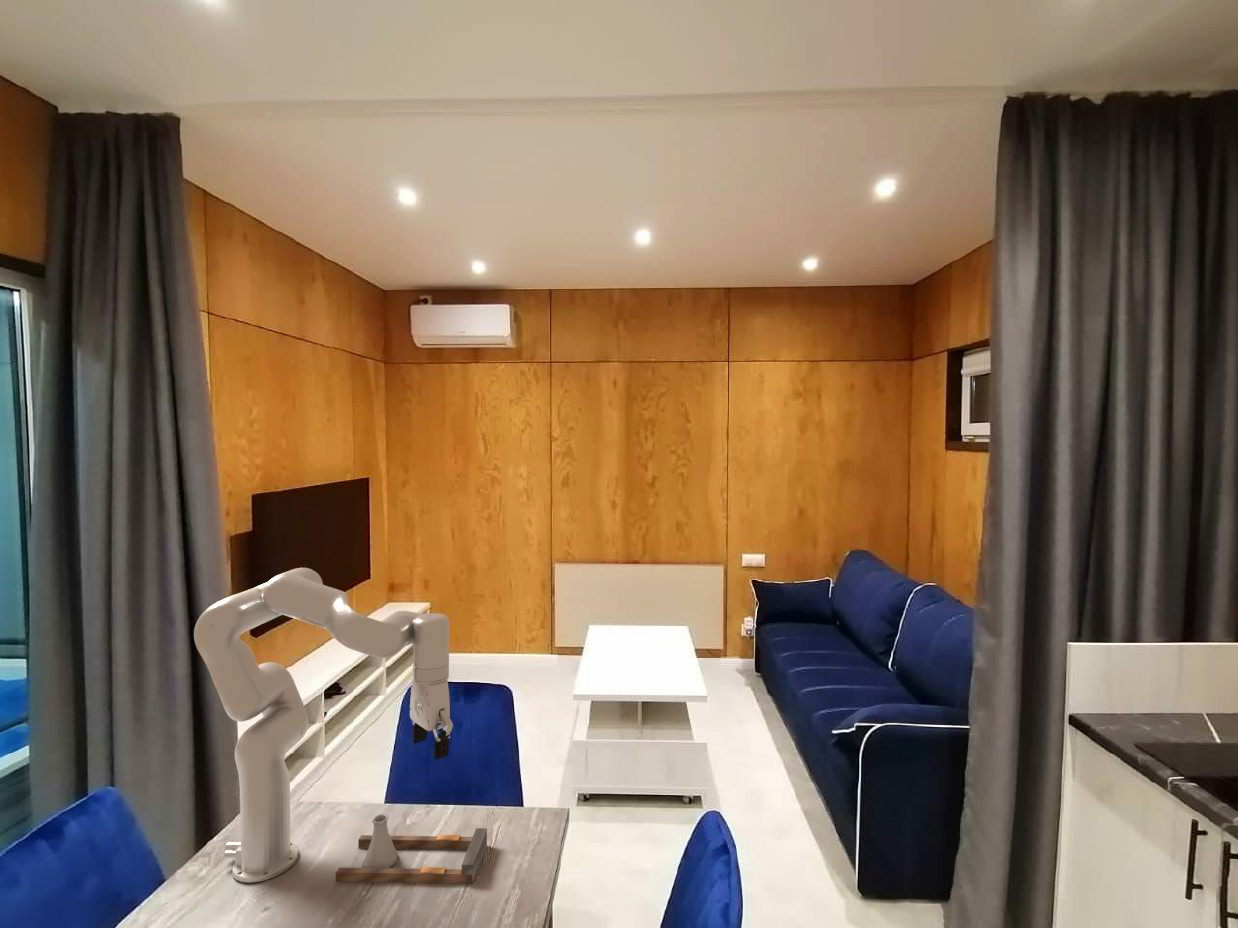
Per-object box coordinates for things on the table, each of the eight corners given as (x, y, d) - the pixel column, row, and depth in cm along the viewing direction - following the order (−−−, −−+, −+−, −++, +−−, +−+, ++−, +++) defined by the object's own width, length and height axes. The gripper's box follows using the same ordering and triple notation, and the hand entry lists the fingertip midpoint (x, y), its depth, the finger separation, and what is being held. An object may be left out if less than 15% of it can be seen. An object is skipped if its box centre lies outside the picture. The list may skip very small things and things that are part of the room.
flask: (385, 875, 131) (385, 829, 131) (355, 871, 132) (355, 825, 132) (404, 854, 138) (404, 810, 138) (375, 849, 139) (375, 806, 139)
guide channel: (335, 881, 129) (335, 862, 129) (361, 843, 142) (361, 826, 142) (473, 883, 129) (473, 864, 128) (487, 845, 141) (487, 828, 141)
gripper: (397, 665, 137) (396, 740, 138) (434, 687, 125) (433, 770, 125) (428, 657, 142) (427, 730, 143) (466, 678, 130) (466, 757, 130)
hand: (430, 748), depth 134 cm, fingers open, 9 cm apart
